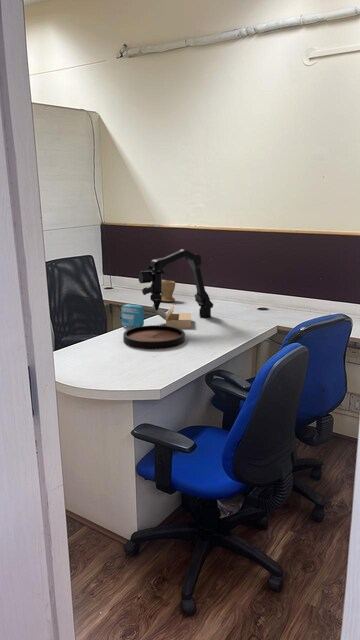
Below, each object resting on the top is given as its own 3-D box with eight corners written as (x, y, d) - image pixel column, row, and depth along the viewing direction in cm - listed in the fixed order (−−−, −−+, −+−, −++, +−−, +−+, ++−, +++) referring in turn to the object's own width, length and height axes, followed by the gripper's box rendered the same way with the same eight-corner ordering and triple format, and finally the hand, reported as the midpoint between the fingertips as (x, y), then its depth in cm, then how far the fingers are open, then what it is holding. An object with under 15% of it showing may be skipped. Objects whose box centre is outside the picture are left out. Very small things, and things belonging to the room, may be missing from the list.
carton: (190, 320, 292) (190, 312, 291) (191, 328, 274) (191, 320, 273) (167, 320, 292) (167, 312, 291) (166, 327, 274) (166, 319, 273)
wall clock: (132, 344, 231) (116, 328, 259) (133, 352, 232) (116, 335, 260) (194, 338, 242) (172, 323, 270) (194, 346, 243) (172, 330, 271)
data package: (121, 326, 278) (121, 305, 275) (125, 324, 282) (124, 304, 279) (140, 328, 274) (140, 307, 271) (144, 326, 278) (143, 305, 275)
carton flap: (174, 304, 289) (160, 294, 288) (173, 311, 272) (159, 300, 271) (166, 314, 291) (153, 303, 289) (165, 321, 274) (151, 310, 273)
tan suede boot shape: (178, 300, 347) (178, 279, 343) (170, 303, 337) (170, 282, 333) (160, 298, 354) (159, 277, 350) (151, 301, 344) (151, 280, 340)
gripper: (144, 279, 286) (144, 305, 290) (141, 284, 268) (141, 312, 272) (163, 279, 286) (163, 305, 290) (161, 284, 268) (161, 312, 272)
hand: (157, 308), depth 281 cm, fingers open, 9 cm apart
